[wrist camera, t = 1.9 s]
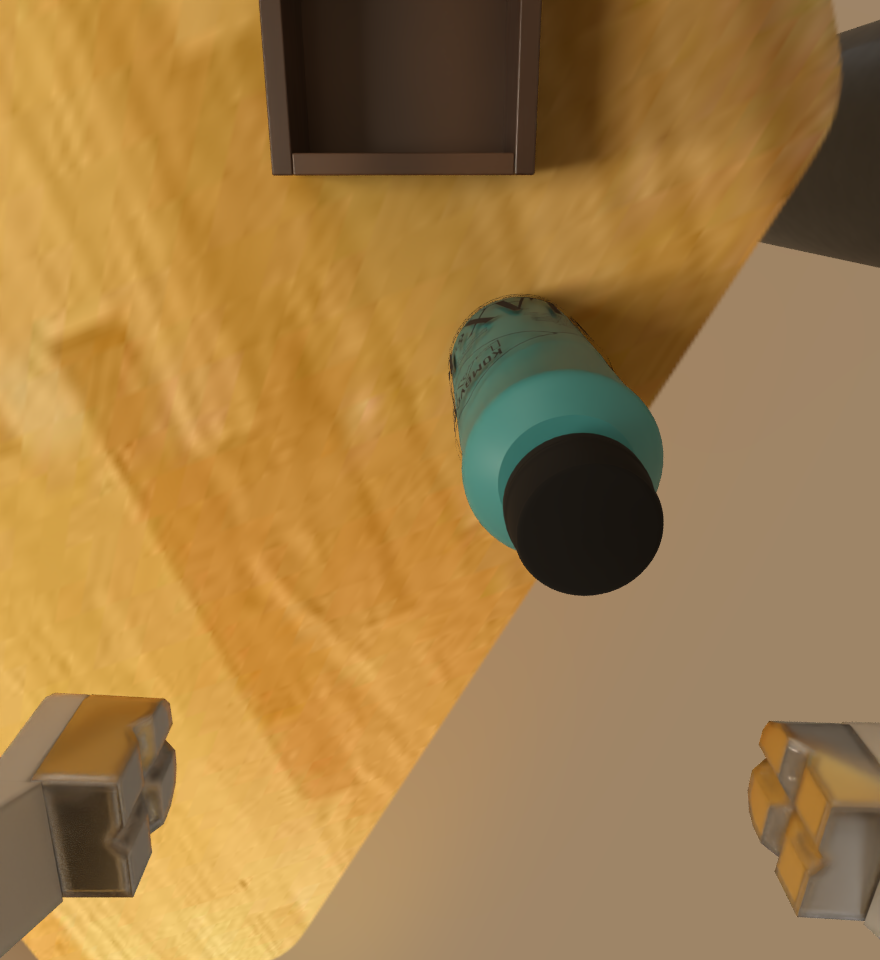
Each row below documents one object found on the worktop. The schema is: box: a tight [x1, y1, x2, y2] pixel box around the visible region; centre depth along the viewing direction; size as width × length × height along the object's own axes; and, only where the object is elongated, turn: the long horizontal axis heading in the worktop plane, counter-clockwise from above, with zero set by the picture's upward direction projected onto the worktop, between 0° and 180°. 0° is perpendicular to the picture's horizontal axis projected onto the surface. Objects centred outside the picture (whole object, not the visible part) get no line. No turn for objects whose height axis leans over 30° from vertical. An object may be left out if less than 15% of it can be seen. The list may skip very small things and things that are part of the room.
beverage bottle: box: [448, 294, 663, 596], centre depth 28 cm, size 6×7×20 cm
